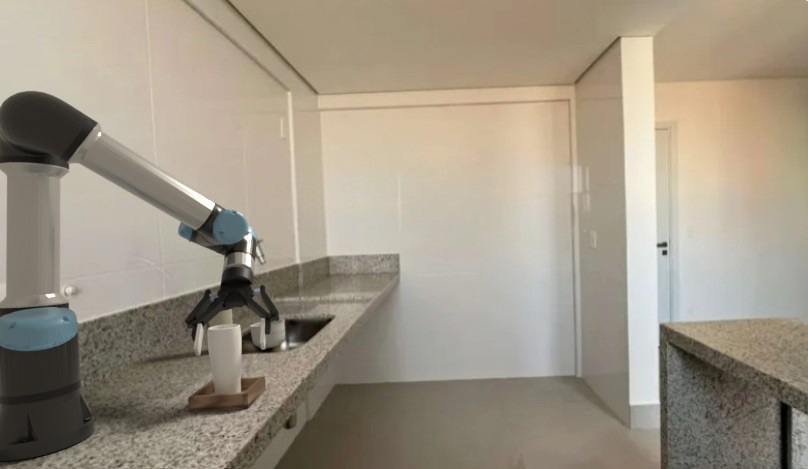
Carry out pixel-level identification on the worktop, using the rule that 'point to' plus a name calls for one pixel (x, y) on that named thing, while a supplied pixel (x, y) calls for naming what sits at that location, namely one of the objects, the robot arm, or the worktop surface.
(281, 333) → the teacup
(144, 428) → the worktop surface
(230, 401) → the walnut tray
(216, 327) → the white tumbler cup
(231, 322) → the travel mug
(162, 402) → the worktop surface
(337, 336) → the worktop surface
